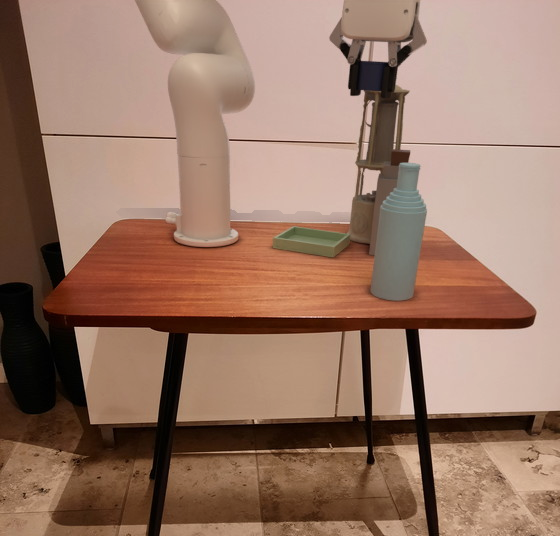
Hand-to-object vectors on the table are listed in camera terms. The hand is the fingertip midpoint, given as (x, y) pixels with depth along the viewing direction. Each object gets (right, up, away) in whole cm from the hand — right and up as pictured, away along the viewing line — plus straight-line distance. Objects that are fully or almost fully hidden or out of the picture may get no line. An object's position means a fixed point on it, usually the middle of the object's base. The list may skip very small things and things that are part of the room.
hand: (370, 95), depth 81 cm
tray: (-7, -16, +25) cm, 31 cm away
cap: (0, +1, 0) cm, 1 cm away
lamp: (+5, -13, +33) cm, 36 cm away
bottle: (+4, -29, +4) cm, 29 cm away
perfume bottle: (+7, -18, +24) cm, 31 cm away
